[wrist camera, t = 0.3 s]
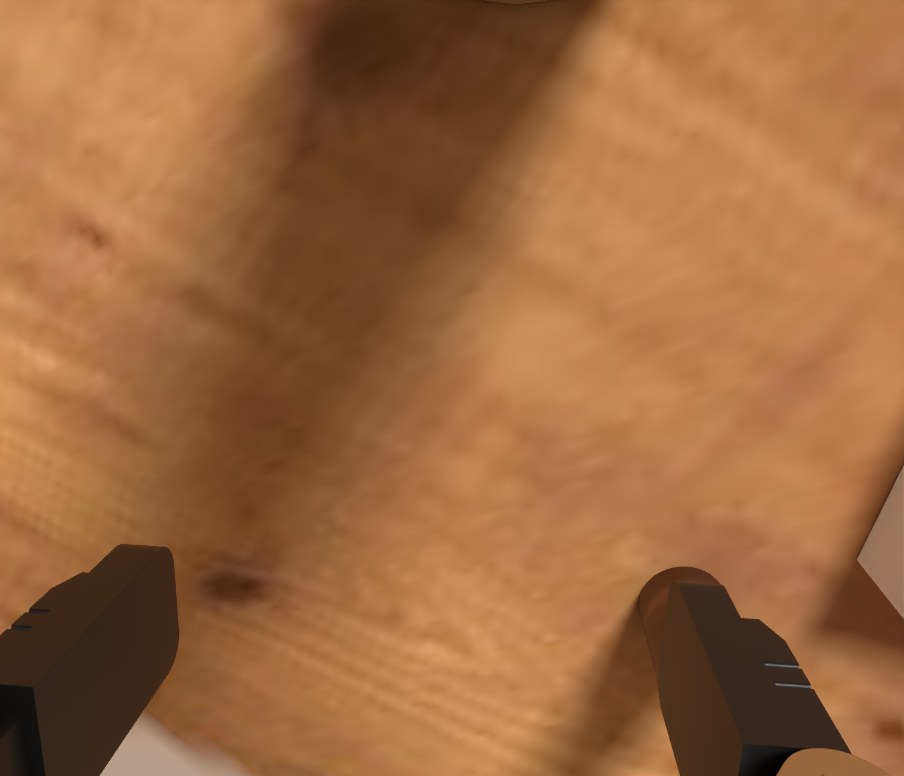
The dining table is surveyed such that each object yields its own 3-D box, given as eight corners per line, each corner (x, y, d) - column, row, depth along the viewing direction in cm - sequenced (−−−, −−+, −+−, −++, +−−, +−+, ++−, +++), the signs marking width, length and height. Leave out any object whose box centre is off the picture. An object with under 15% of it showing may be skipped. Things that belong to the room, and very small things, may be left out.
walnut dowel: (654, 557, 32) (733, 795, 20) (737, 578, 32) (862, 828, 20) (627, 627, 33) (687, 888, 22) (707, 647, 33) (809, 919, 22)
